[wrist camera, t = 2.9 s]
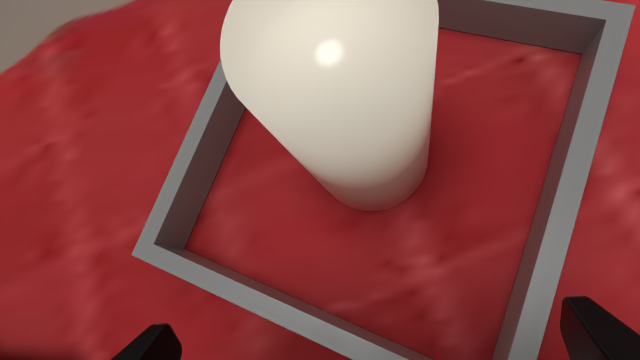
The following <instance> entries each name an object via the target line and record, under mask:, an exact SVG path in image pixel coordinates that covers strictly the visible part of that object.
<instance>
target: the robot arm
mask: <svg viewBox="0 0 640 360" xmlns="http://www.w3.org/2000/svg"><path fill="white" fill-rule="evenodd" d="M560 330H561V334H562V337H563V340H564V343H565V346H566V349H567V351H568V354H569V357H570V360H640V335H639V334H637V333H636V332H635V331H633V330H632V329H631V328H629V327H628V326H627V325H625V324H624V323H623V322H621V321H620V320H619V319H617V318H616V317H615V316H613V315H612V314H610V313H609V312H608V311H606V310H605V309H604V308H602V307H601V306H600V305H598V304H597V303H596V302H594V301H593V300H592V299H590V298H588V297H586V296H571V297H565V298H564V299H563V301H562V309H561V319H560ZM181 355H182V346H181V343H180V341H179V339H178V338H177V336H176V334H175V333H174V331H173V329H172V327H171V326H170V325H169V324H167V323H161V324H153V325H151V326H149V327H148V328H147V329H146V330H145V331H143V332H142V333H141V334H140V335H139V336H138V337H136V338H135V339H134V340H133V341H132V342H131V343H130V344H128V345H127V346H126V347H125V348H124V349H123V350H121V351H120V352H119V353H118V354H117V355H116V356H115V357H113V358H112V359H111V360H180V359H181Z"/></svg>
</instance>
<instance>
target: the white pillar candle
mask: <svg viewBox="0 0 640 360" xmlns="http://www.w3.org/2000/svg"><path fill="white" fill-rule="evenodd" d="M438 24H439V9H438V2H437V0H233V1H232V3H231V5H230V7H229V9H228V12H227V14H226V17H225V20H224V24H223V27H222V32H221V40H220V56H221V63H222V68H223V71H224V74H225V77H226V80H227V82H228V84H229V86H230V88H231V90H232V91H233V92H234V94H235V95H236V97H237V98H238V99H239V100H240V101H241V102H242V103H243V105H244V106H245V107H246V108H247V109H248V110H249V111H250V112H251V113H252V114H253V115H254V116H255V117H256V118H257V119H258V120H259V121H260V122H261V123H262V124H263V125H264V126H265V127H266V128H267V129H268V130H269V131H270V132H271V133H272V134H273V135H274V136H275V137H276V138H277V140H278V141H279V142H280V143H281V144H282V145H283V146H284V147H285V148H286V149H287V150H288V151H289V152H290V153H291V154H292V155H293V156H294V157H295V158H296V159H297V160H298V161H299V162H300V163H301V164H302V165H303V166H304V167H305V168H306V169H307V170H308V171H309V172H310V173H311V174H312V175H313V176H314V178H315V179H316V180H317V181H318V182H319V183H320V184H321V185H322V186H323V187H324V188H325V189H326V190H327V191H328V192H329V193H330V194H331V195H332V196H333V197H334V198H335V199H336V200H338V201H339V202H340V203H342V204H344V205H345V206H348V207H350V208H352V209H356V210H360V211H370V212H374V211H382V210H386V209H390V208H392V207H395V206H397V205H399V204H400V203H402V202H404V201H405V200H406V199H408V198H409V197H410V196H411V195H412V194H413V193H414V192H415V191H416V190H417V188H418V187H419V186H420V184H421V182H422V181H423V178H424V176H425V174H426V170H427V166H428V156H429V143H430V130H431V117H432V104H433V90H434V77H435V64H436V51H437V38H438Z"/></svg>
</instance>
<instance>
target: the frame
mask: <svg viewBox="0 0 640 360" xmlns="http://www.w3.org/2000/svg"><path fill="white" fill-rule="evenodd" d="M437 2H438V9H439V24H438V27H439V28H444V29H450V30H455V31H461V32H466V33H471V34H477V35H482V36H487V37H493V38H498V39H503V40H509V41H514V42H520V43H525V44H530V45H536V46H541V47H546V48H552V49H557V50H563V51H568V52H573V53H579V54H582V56H581V60H580V63H579V66H578V70H577V73H576V76H575V80H574V83H573V87H572V90H571V93H570V97H569V100H568V103H567V107H566V110H565V114H564V117H563V120H562V124H561V127H560V130H559V134H558V137H557V141H556V144H555V147H554V151H553V154H552V157H551V161H550V164H549V168H548V171H547V174H546V178H545V181H544V184H543V188H542V191H541V195H540V198H539V201H538V205H537V208H536V211H535V215H534V218H533V222H532V225H531V228H530V232H529V235H528V238H527V242H526V245H525V249H524V252H523V255H522V259H521V262H520V265H519V269H518V272H517V276H516V279H515V282H514V286H513V289H512V292H511V296H510V299H509V303H508V306H507V309H506V313H505V316H504V319H503V323H502V326H501V330H500V333H499V336H498V340H497V343H496V346H495V350H494V353H493V357H492V360H537V357H538V353H539V350H540V346H541V343H542V339H543V335H544V332H545V328H546V325H547V321H548V317H549V314H550V310H551V307H552V303H553V300H554V296H555V292H556V289H557V285H558V282H559V278H560V274H561V271H562V267H563V264H564V260H565V256H566V253H567V249H568V246H569V242H570V239H571V235H572V231H573V228H574V224H575V221H576V217H577V213H578V210H579V206H580V203H581V199H582V195H583V192H584V188H585V185H586V181H587V178H588V174H589V170H590V167H591V163H592V160H593V156H594V152H595V149H596V145H597V142H598V138H599V135H600V131H601V127H602V124H603V120H604V117H605V113H606V109H607V106H608V102H609V99H610V95H611V91H612V88H613V84H614V81H615V77H616V74H617V70H618V66H619V63H620V59H621V56H622V52H623V48H624V45H625V41H626V38H627V34H628V30H629V27H630V23H631V20H632V16H633V13H634V9H635V5H629V4H622V3H616V2H609V1H602V0H437ZM244 110H245V106H244V105H243V103H242V102H241V101H240V100H239V99H238V98H237V97H236V95H235V94H234V92H233V91H232V90H231V88H230V86H229V84H228V82H227V80H226V77H225V74H224V71H223V68H222V63H221V60H220V62H219V64H218V66H217V68H216V71H215V73H214V75H213V77H212V79H211V82H210V84H209V86H208V88H207V90H206V92H205V95H204V97H203V99H202V101H201V103H200V106H199V108H198V110H197V112H196V114H195V117H194V119H193V121H192V123H191V125H190V128H189V130H188V132H187V134H186V136H185V139H184V141H183V143H182V145H181V147H180V150H179V152H178V154H177V156H176V158H175V161H174V163H173V165H172V167H171V169H170V172H169V174H168V176H167V178H166V180H165V183H164V185H163V187H162V189H161V191H160V194H159V196H158V198H157V200H156V202H155V204H154V207H153V209H152V211H151V213H150V215H149V218H148V220H147V222H146V224H145V226H144V229H143V231H142V233H141V235H140V237H139V240H138V242H137V244H136V246H135V248H134V251H133V253H132V255H133V256H135V257H137V258H139V259H141V260H143V261H145V262H148V263H150V264H152V265H154V266H156V267H158V268H160V269H162V270H164V271H167V272H169V273H171V274H173V275H175V276H177V277H179V278H181V279H183V280H186V281H188V282H190V283H192V284H194V285H196V286H198V287H200V288H202V289H205V290H207V291H209V292H211V293H213V294H215V295H217V296H219V297H221V298H224V299H226V300H228V301H230V302H232V303H234V304H236V305H238V306H240V307H243V308H245V309H247V310H249V311H251V312H253V313H255V314H257V315H259V316H261V317H264V318H266V319H268V320H270V321H272V322H274V323H276V324H278V325H280V326H283V327H285V328H287V329H289V330H291V331H293V332H295V333H297V334H299V335H302V336H304V337H306V338H308V339H310V340H312V341H314V342H316V343H318V344H321V345H323V346H325V347H327V348H329V349H331V350H333V351H335V352H337V353H340V354H342V355H344V356H346V357H348V358H350V359H352V360H433V359H431V358H429V357H427V356H424V355H422V354H420V353H418V352H415V351H413V350H411V349H409V348H406V347H404V346H402V345H399V344H397V343H395V342H393V341H390V340H388V339H386V338H384V337H381V336H379V335H377V334H375V333H372V332H370V331H368V330H366V329H363V328H361V327H359V326H357V325H354V324H352V323H350V322H348V321H345V320H343V319H341V318H339V317H336V316H334V315H332V314H330V313H327V312H325V311H323V310H321V309H318V308H316V307H314V306H312V305H309V304H307V303H305V302H303V301H300V300H298V299H296V298H294V297H291V296H289V295H287V294H285V293H282V292H280V291H278V290H276V289H273V288H271V287H269V286H267V285H264V284H262V283H260V282H258V281H255V280H253V279H251V278H249V277H246V276H244V275H242V274H240V273H237V272H235V271H233V270H231V269H228V268H226V267H224V266H222V265H219V264H217V263H215V262H213V261H210V260H208V259H206V258H204V257H201V256H199V255H197V254H195V253H192V252H190V251H188V250H186V249H184V248H185V245H186V243H187V241H188V238H189V236H190V234H191V232H192V229H193V227H194V225H195V222H196V220H197V218H198V215H199V213H200V211H201V209H202V206H203V204H204V202H205V199H206V197H207V195H208V192H209V190H210V188H211V186H212V183H213V181H214V179H215V176H216V174H217V172H218V169H219V167H220V165H221V163H222V160H223V158H224V156H225V153H226V151H227V149H228V146H229V144H230V142H231V140H232V137H233V135H234V133H235V130H236V128H237V126H238V123H239V121H240V119H241V117H242V114H243V112H244Z"/></svg>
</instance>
